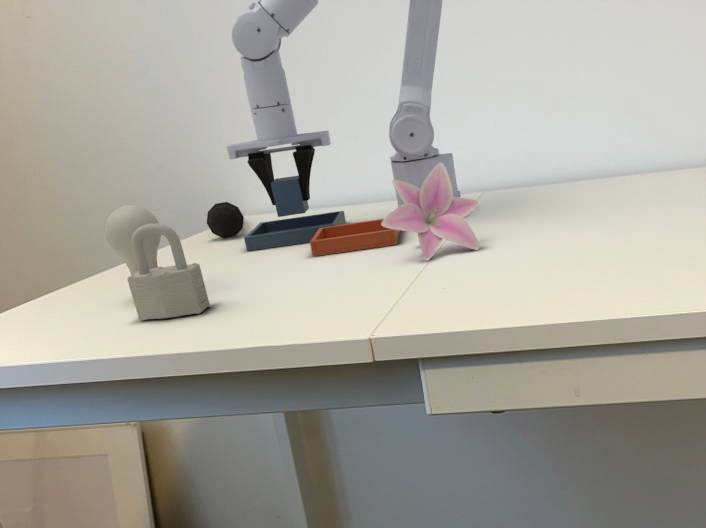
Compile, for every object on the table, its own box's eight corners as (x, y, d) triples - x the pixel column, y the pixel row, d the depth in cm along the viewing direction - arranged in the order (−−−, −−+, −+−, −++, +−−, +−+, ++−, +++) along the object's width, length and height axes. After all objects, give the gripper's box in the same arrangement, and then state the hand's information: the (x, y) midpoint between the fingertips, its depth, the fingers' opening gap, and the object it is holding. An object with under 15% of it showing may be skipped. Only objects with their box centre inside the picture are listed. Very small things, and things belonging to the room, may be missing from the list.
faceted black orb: (230, 238, 145) (217, 245, 125) (213, 209, 143) (197, 212, 124) (257, 223, 145) (248, 229, 126) (241, 194, 144) (229, 195, 124)
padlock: (136, 323, 87) (109, 231, 83) (152, 311, 90) (127, 223, 87) (199, 315, 86) (174, 223, 82) (212, 304, 90) (189, 215, 86)
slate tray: (346, 223, 126) (343, 210, 125) (338, 238, 115) (335, 224, 115) (262, 235, 126) (260, 222, 125) (247, 251, 116) (243, 237, 115)
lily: (373, 274, 96) (383, 207, 90) (382, 218, 105) (391, 153, 98) (472, 290, 98) (488, 225, 91) (473, 233, 106) (488, 170, 100)
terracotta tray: (399, 230, 114) (397, 216, 114) (396, 244, 106) (394, 229, 105) (322, 241, 115) (319, 227, 114) (312, 256, 106) (309, 241, 105)
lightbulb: (134, 293, 100) (108, 205, 96) (183, 285, 100) (159, 197, 97) (118, 307, 95) (90, 214, 91) (170, 299, 95) (144, 206, 91)
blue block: (309, 208, 121) (302, 174, 119) (304, 213, 117) (297, 178, 116) (282, 212, 121) (275, 178, 119) (277, 217, 118) (270, 182, 116)
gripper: (213, 115, 110) (236, 213, 115) (317, 100, 110) (336, 199, 115) (225, 112, 117) (247, 205, 122) (324, 98, 117) (342, 191, 122)
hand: (291, 201), depth 119 cm, fingers closed on blue block, 4 cm apart
